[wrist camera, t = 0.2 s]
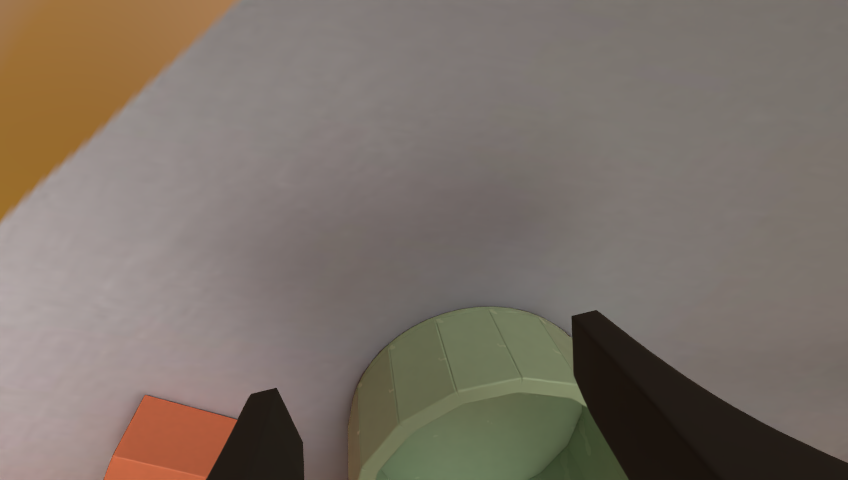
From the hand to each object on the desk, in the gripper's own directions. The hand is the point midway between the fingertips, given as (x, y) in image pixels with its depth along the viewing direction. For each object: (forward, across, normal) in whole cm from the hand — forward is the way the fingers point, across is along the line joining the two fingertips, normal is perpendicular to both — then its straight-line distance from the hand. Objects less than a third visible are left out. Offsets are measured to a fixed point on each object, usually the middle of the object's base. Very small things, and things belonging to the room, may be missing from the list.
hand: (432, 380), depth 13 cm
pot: (+8, -2, +12) cm, 15 cm away
